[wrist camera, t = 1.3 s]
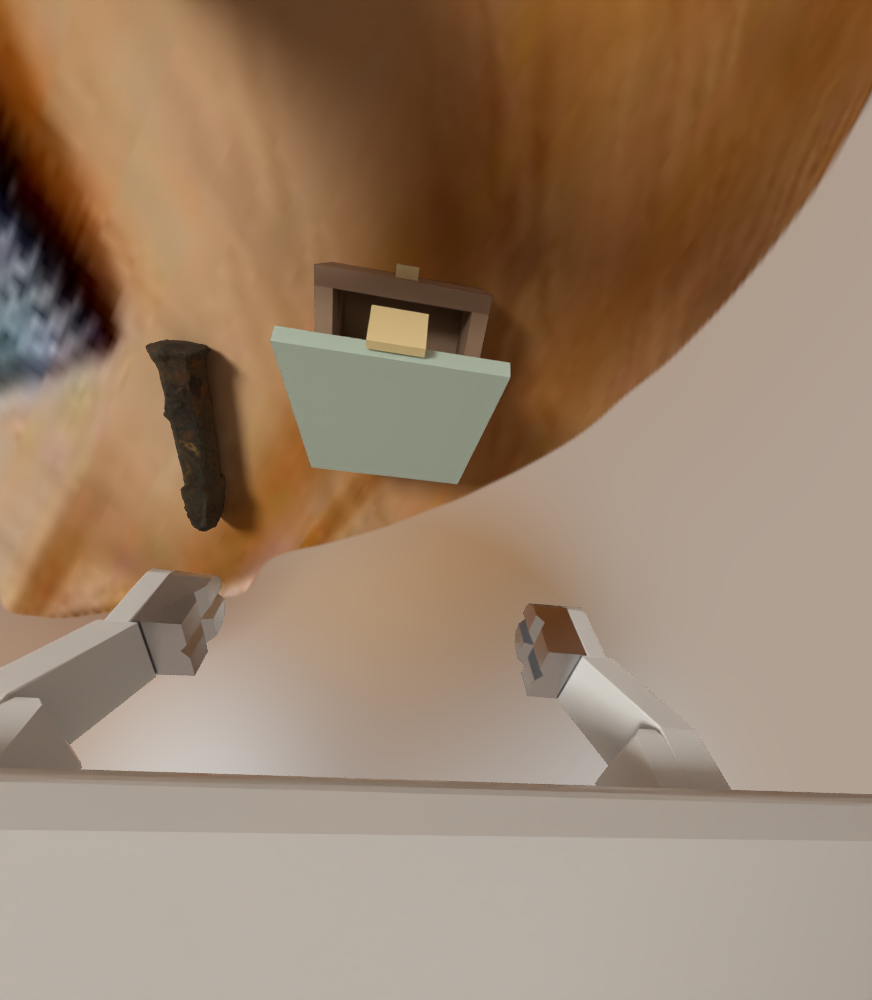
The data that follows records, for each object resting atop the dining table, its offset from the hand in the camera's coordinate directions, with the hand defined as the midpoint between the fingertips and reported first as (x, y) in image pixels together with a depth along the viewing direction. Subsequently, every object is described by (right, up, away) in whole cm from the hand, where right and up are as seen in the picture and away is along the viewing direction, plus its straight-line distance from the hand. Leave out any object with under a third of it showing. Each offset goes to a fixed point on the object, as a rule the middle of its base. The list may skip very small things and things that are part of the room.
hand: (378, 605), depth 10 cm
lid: (-1, +10, +17) cm, 19 cm away
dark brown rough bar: (-21, +9, +28) cm, 36 cm away
